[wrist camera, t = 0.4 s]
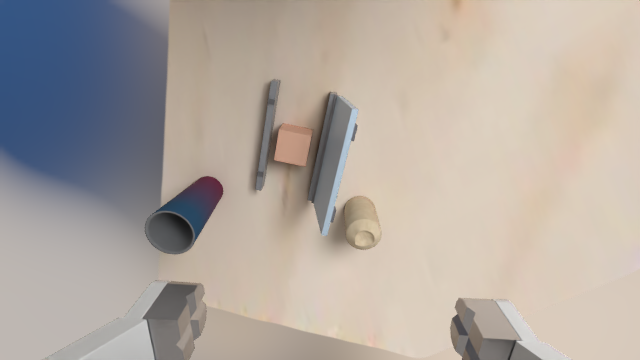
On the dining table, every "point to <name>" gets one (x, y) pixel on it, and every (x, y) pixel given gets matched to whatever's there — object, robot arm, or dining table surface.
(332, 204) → the cover
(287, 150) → the block
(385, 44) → the dining table surface
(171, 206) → the cup
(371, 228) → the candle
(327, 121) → the grey rail
